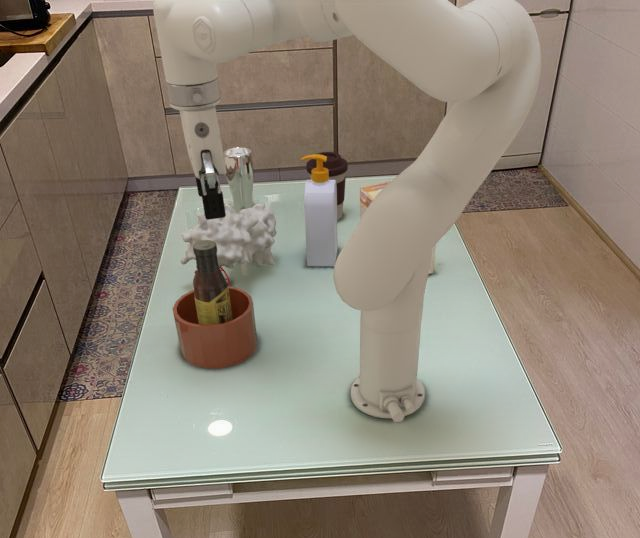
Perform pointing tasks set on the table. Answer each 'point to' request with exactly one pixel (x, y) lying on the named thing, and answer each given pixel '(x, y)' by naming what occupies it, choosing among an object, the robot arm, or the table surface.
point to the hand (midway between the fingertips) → (211, 206)
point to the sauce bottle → (210, 286)
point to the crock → (216, 332)
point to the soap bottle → (320, 215)
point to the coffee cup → (333, 175)
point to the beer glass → (240, 177)
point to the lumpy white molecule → (236, 236)
